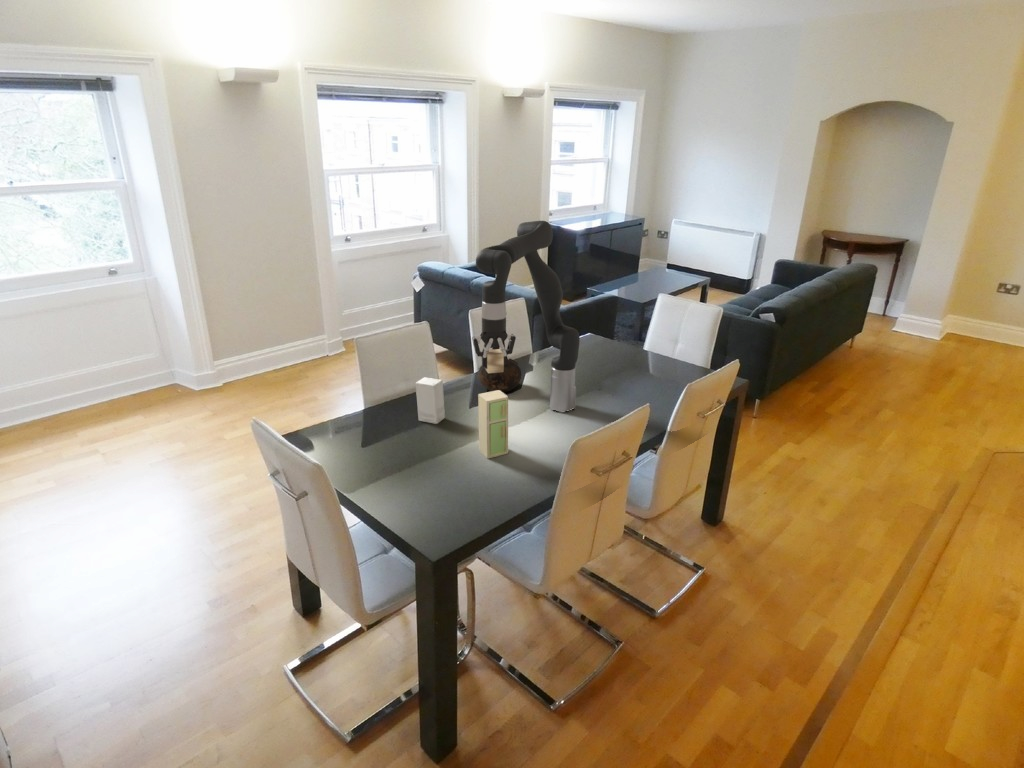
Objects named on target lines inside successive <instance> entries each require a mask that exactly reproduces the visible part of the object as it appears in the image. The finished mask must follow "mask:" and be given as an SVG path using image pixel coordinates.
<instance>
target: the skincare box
mask: <svg viewBox="0 0 1024 768" xmlns="http://www.w3.org/2000/svg"><path fill="white" fill-rule="evenodd" d="M443 384H444V383H443V379H439V378H431V377H426V376H424V377H422V378H421V379H419V380H417V381H416V382H415V393H416V403H417V404H416V405H417V406H416V407H417V416H418V421H419V422H424V423H430V424H433V425H437V424H439V423H441V421H443V420H444V419H445V418H446V413H445V397H444V385H443Z"/></svg>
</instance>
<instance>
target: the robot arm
mask: <svg viewBox="0 0 1024 768" xmlns="http://www.w3.org/2000/svg"><path fill="white" fill-rule="evenodd" d="M516 235H517V236H514V237H512V238H509V239H507V240H505V241H503V242H501V243H500V244H496V245H491V246H488V247H484V248H483V249H481V250H480V251H479V252H478V253H477V255H476V258H475V266H476V267H477V269H478V270H479V272H481V273H484V274H491V275H496V277H495V279H494V280H488V281H484V282H483V284H482V286H481V287H482V291H481V293H482V295H481V297H482V299H481V300H482V303H481V334H480V335H479V336H472V337H471V340H472V344H473V348H474V350H475V354H476V356H477V357H481V365H482V366H483V367H484V368H485V369H487V354H488V352H489V350H491V349H492V348H493V347H499V348H500V351H501V352H502V353H503V354H504V365H506V356H507V357H508V355H511V354H512V353H513V351H514V346H515V342H516V339H517V337H516V336H515V335H514V333H512V334H511V333H510V334H509V333H507V305H506V287H507V282H508V278H509V274H510V271H511V268H512V265H513V264H514V263H516V262H518V261H519V260H520V259H521V258H524V259H525V262H526V265H527V266H528V269H529V273H530V277H531V279H532V282H533V286H534V287H533V288H534V290H535V293H536V297H537V299H538V303H539V306H540V311H541V313H542V317H543V321H544V325H545V331H546V337H547V341H548V343H549V345H550V346H551V347H553V348H555V349H557V350H560V351H559V356H556V357H553V358H552V359H551V362H550V389H549V390H550V391H549V392H550V393H549V409H550V408H551V409H553V410H557V411H567V410H570V409H572V408H575V409H576V397H577V386H576V385H575V383H576V382H575V381H576V364H577V361H578V358H579V351H580V350H579V349H580V342H581V341H580V340H581V339H580V333H579V331H578V329H576V328H574V327H572V326H571V327H570V326H568V325H565V324H564V323H563V320H562V317H561V313H560V309H561V305H562V302H563V297H564V293H563V292H564V291H563V288H562V284H561V280H560V278H559V276H558V274H557V273H556V272H555V271H554V270H553V269H552V268H551V267H550V266H549V265H548V264H547V263H546V262H545V261H544V260H543V259H542V257H541V256H540V254H539V252H538V250H543V249H545V248H548V247H550V245H552V241H553V239H554V238H553V237H554V232H553V228H552V225H551V224H550V223H549V222H548V221H546V220H534V221H526V222H521V223H519V224H518V226H517V231H516ZM506 340H507V341H508V343H507V347H505V348H504V345H503V343H504V342H505V341H506ZM481 341H482V342H483V346H482V350H480V345H479V344H481ZM551 409H550V410H551ZM553 410H552V411H553Z"/></svg>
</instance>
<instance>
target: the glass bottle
mask: <svg viewBox="0 0 1024 768" xmlns="http://www.w3.org/2000/svg"><path fill="white" fill-rule="evenodd" d="M503 345H504V348H505V349H506V343H505V341H504V343H503ZM493 349H500V348H499V347H493V348H491V350H493ZM477 375H478V376H477V377H478V380H479V383H480V384H481V386H483V388H485V389H487V391H489V392H491V391H496V390H500V391H501V392H503V393H507V392H510V391H512V390H514V389H515V388H516V387H517V386H518V385H519V384H520V382H521V380H522V370H521V368H520V366H519V363H518V362H517V361H515V360H514V359H512V358H508V355H507V356H506V365H504V372H498V373H488V372H487V371H486V369H485V368H484V367H483V366H482V364H481V365H480V367H479V368H478V372H477Z"/></svg>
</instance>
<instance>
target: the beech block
mask: <svg viewBox="0 0 1024 768" xmlns="http://www.w3.org/2000/svg"><path fill="white" fill-rule="evenodd" d="M486 371H487V372H488V373H498V372H504V354H503V353H502V352H501V351H500V349H493V350H492V349H490V350H489V352H488V354H487V369H486Z"/></svg>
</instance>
